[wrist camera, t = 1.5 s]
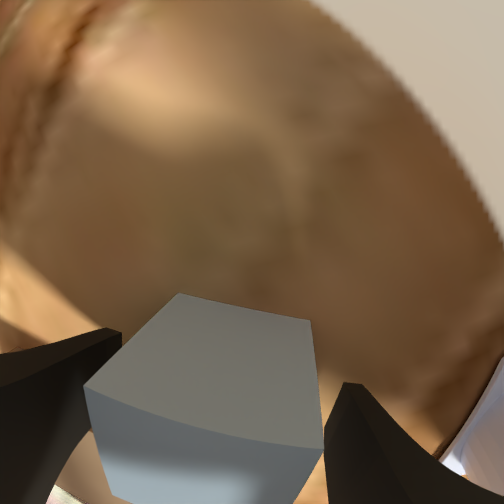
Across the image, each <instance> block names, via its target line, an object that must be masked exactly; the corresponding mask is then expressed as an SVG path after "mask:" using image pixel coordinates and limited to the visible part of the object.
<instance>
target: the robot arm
mask: <svg viewBox="0 0 504 504" xmlns="http://www.w3.org/2000/svg"><path fill="white" fill-rule="evenodd" d="M121 348H122V333H121V332H118V331H115V330H112V329H109V328H102V329H98V330H94V331H91V332H87V333H84V334H81V335H78V336H74V337H71V338H68V339H65V340H61V341H58V342H55V343H51V344H47V345H43V346H39V347H35V348H31V349H27V350H22V351H17V352H10V353H3V354H0V504H46V502H47V499H48V497H49V495H50V492H51V490H52V488H53V486H54V484H55V482H56V480H57V478H58V476H59V475H60V473H61V471H62V469H63V467H64V466H65V464H66V462H67V460H68V459H69V457H70V455H71V454H72V452H73V451H74V449H75V448H76V446H77V445H78V444H79V442H80V441H81V440H82V439H83V437H84V436H85V435H86V434H87V432H88V431H89V430H90V429H91V427H92V426H91V422H90V417H89V413H88V408H87V403H86V398H85V393H84V387H83V385H84V384H85V383H86V382H87V381H88V380H89V379H90V378H91V377H92V376H93V375H94V374H95V373H96V372H97V371H98V370H99V369H100V368H101V367H102V366H103V365H104V364H105V363H106V362H107V361H108V360H109V359H110V358H111V357H112V356H113V355H114V354H116V353H117V352H118V351H119V350H120V349H121ZM324 462H325V472H326V481H327V491H328V501H329V504H504V357H503V358H502V359H501V361H500V362H499V364H498V366H497V368H496V370H495V372H494V374H493V376H492V378H491V380H490V382H489V384H488V386H487V388H486V389H485V391H484V393H483V395H482V397H481V398H480V400H479V402H478V403H477V405H476V407H475V408H474V410H473V412H472V413H471V415H470V416H469V418H468V420H467V421H466V423H465V424H464V426H463V427H462V429H461V430H460V432H459V433H458V435H457V436H456V437H455V439H454V440H453V442H452V443H451V444H450V446H449V447H448V448H447V450H446V451H445V452H444V454H443V455H442V456H441V458H440V459H439V460H437V459H435V458H434V457H433V456H432V455H430V454H429V453H428V452H427V451H425V450H424V449H423V448H422V447H421V446H420V445H419V444H418V443H417V442H416V441H414V440H413V439H412V438H411V437H410V436H409V435H408V434H407V433H406V432H405V431H404V430H403V429H402V428H401V427H400V426H399V425H398V424H397V423H396V421H395V420H394V419H393V418H392V417H391V416H390V415H389V414H388V413H387V412H386V410H385V409H384V408H383V407H382V406H381V405H380V404H379V402H378V401H377V400H376V399H375V398H374V397H373V396H372V395H371V393H370V392H369V391H368V390H367V389H366V388H365V387H364V386H363V385H362V384H356V383H347V382H344V383H343V385H342V388H341V390H340V393H339V395H338V397H337V400H336V402H335V404H334V407H333V409H332V411H331V414H330V416H329V418H328V420H327V422H326V425H325V427H324ZM464 474H466V475H467V477H468V479H469V480H467V479H465V478H464V477H462V476H460V475H464Z"/></svg>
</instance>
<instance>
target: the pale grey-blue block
mask: <svg viewBox="0 0 504 504" xmlns="http://www.w3.org/2000/svg"><path fill="white" fill-rule="evenodd" d="M83 387H84V393H85V398H86V403H87V408H88V413H89V417H90V422H91V426H92V430H93V434H94V438H95V442H96V445H97V449H98V453H99V456H100V459H101V463H102V466H103V469H104V472H105V475H106V478H107V481H108V484H109V487H110V490H111V493H112V495H114V496H116V497H118V498H121V499H123V500H125V501H128V502H130V503H133V504H293V502H294V501H295V499H296V498H297V496H298V494H299V493H300V491H301V490H302V488H303V486H304V485H305V483H306V481H307V480H308V478H309V476H310V474H311V473H312V471H313V469H314V467H315V466H316V464H317V462H318V460H319V458H320V457H321V455H322V453H323V451H324V439H323V427H322V417H321V406H320V397H319V387H318V378H317V369H316V361H315V353H314V345H313V337H312V329H311V322H310V320H306V319H300V318H295V317H290V316H284V315H279V314H274V313H269V312H264V311H259V310H254V309H249V308H244V307H239V306H235V305H230V304H225V303H221V302H216V301H212V300H207V299H203V298H199V297H194V296H190V295H186V294H182V293H177V294H176V295H175V296H174V297H173V298H172V299H171V300H170V301H169V302H168V303H167V304H166V305H165V306H164V307H163V308H162V309H161V310H160V311H158V312H157V313H156V314H155V315H154V316H153V317H152V318H151V319H150V320H149V321H148V322H147V323H146V324H145V325H144V326H143V327H142V328H141V329H140V330H139V331H138V332H137V333H136V334H135V335H134V336H133V337H132V338H131V339H130V340H129V341H128V342H127V343H126V344H125V345H124V346H123V347H122V348H121V349H120V350H119V351H118V352H117V353H116V354H114V355H113V356H112V357H111V358H110V359H109V360H108V361H107V362H106V363H105V364H104V365H103V366H102V367H101V368H100V369H99V370H98V371H97V372H96V373H95V374H94V375H93V376H92V377H91V378H90V379H89V380H88V381H87V382H86V383H85V384H84V385H83Z"/></svg>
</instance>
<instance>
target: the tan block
mask: <svg viewBox="0 0 504 504" xmlns="http://www.w3.org/2000/svg"><path fill="white" fill-rule="evenodd" d="M22 350H23V349H21V348H20V347H16V348H15V349H13V350H12V351H10V352H17V351H22ZM10 352H9V353H10ZM55 485H57V486H59V487H60V488H62V489H64V490H65V491H67V492H69V493H71V494H72V495H74V496H76V497H78V498H80V499H81V500H83V501H85V502H87V503H89V504H133V503H130V502H128V501H125V500H123V499H121V498H118V497H116V496H114V495H112V493H111V490H110V487H109V484H108V481H107V478H106V475H105V472H104V469H103V466H102V463H101V459H100V456H99V453H98V449H97V445H96V442H95V438H94V434H93V430H92V427H91V429H90V430H89V431H88V432H87V434H86V435H85V436H84V437H83V439H82V440H81V441H80V442H79V444H78V445H77V446H76V448H75V449H74V451H73V452H72V454H71V455H70V457H69V459H68V460H67V462H66V464H65V466H64V467H63V469H62V471H61V473H60V475H59V476H58V478H57V480H56V482H55Z"/></svg>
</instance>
